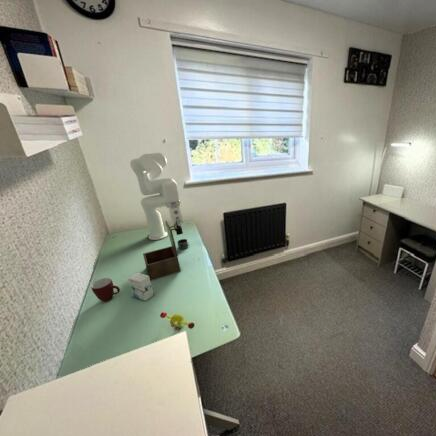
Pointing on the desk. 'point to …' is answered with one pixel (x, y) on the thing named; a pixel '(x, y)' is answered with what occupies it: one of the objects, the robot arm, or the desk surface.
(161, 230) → the robot arm
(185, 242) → the bowl
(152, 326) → the desk surface
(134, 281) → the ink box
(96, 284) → the mug
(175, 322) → the spiky dumbbell toy
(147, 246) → the desk surface
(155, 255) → the chest
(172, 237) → the lid
